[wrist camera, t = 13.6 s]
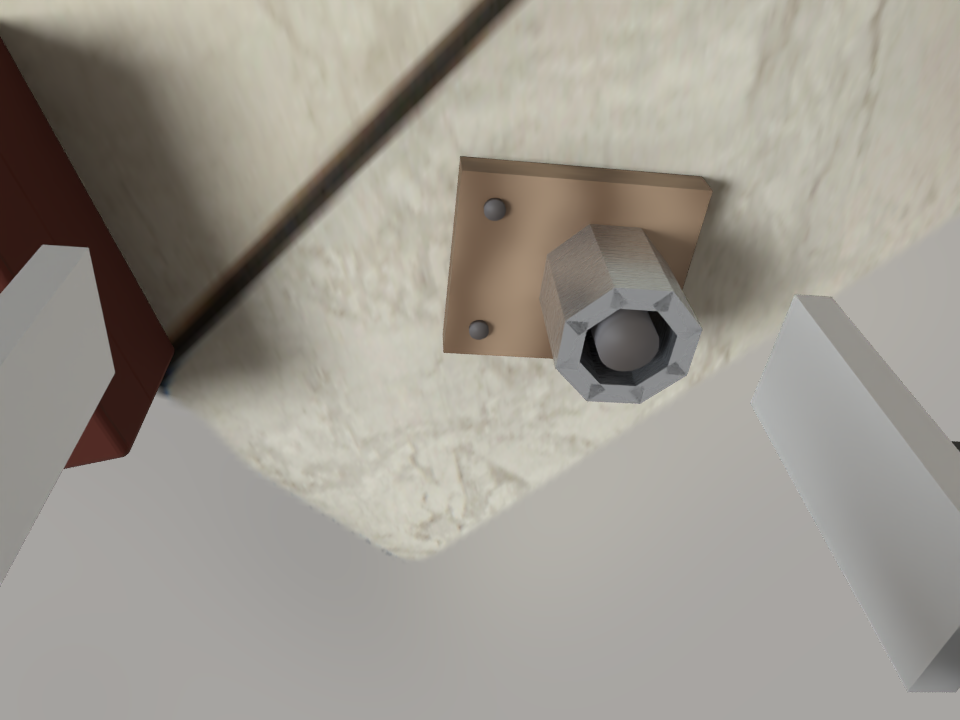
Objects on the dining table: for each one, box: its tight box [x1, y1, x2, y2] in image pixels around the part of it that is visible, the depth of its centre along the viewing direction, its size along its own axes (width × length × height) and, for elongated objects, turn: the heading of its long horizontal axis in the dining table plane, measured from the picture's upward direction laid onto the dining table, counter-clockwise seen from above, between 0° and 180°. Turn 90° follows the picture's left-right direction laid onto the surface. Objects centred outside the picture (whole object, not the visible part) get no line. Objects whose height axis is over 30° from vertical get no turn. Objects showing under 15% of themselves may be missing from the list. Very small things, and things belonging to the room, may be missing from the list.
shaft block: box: [443, 156, 713, 371], centre depth 43 cm, size 14×12×9 cm
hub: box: [539, 224, 702, 404], centre depth 43 cm, size 7×7×7 cm
